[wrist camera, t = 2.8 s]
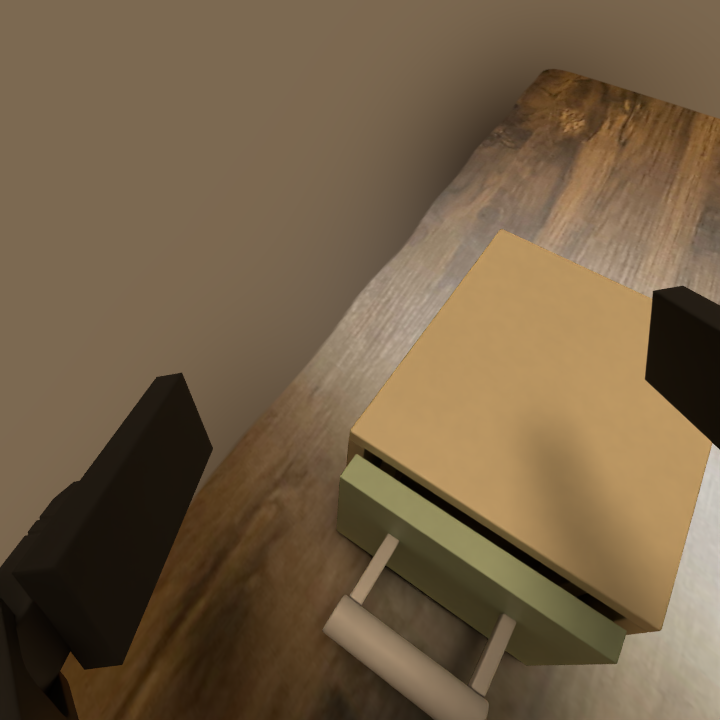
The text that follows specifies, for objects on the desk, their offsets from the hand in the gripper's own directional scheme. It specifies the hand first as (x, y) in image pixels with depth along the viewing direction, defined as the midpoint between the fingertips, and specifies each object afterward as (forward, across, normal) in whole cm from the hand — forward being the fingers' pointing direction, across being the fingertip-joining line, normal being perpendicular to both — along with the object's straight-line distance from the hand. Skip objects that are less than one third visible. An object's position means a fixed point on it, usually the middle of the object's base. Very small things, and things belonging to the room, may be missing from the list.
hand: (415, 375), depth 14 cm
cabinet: (+12, +4, -14) cm, 19 cm away
